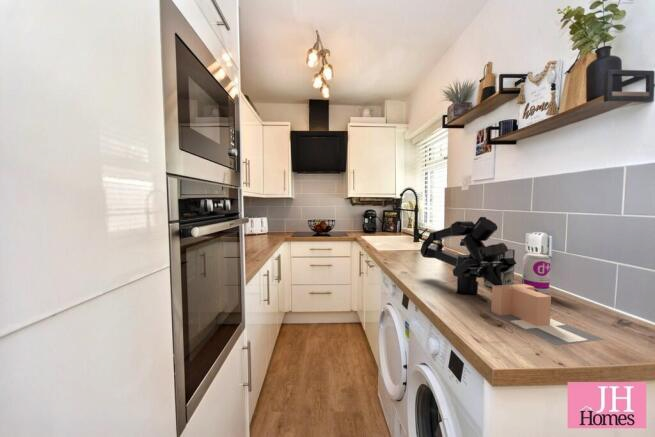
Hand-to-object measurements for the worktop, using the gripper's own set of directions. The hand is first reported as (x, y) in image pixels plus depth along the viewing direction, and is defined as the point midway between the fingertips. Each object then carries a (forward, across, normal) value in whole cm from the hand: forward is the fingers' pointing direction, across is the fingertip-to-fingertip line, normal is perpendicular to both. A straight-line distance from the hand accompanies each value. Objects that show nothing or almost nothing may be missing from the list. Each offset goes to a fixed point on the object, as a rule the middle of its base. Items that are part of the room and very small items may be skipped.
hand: (501, 287), depth 88 cm
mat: (+14, 0, -4) cm, 14 cm away
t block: (+10, 0, -2) cm, 11 cm away
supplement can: (-2, +26, +12) cm, 28 cm away
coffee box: (-9, +18, +19) cm, 28 cm away
